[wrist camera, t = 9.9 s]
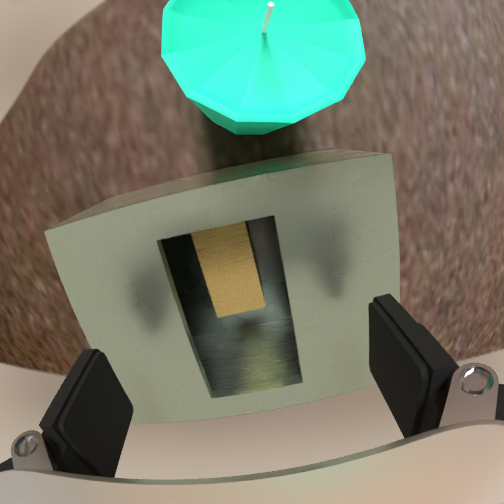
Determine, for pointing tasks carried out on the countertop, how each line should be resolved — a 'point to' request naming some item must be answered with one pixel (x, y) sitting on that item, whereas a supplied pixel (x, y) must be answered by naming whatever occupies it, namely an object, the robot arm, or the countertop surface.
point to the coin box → (272, 277)
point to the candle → (262, 58)
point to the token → (230, 268)
